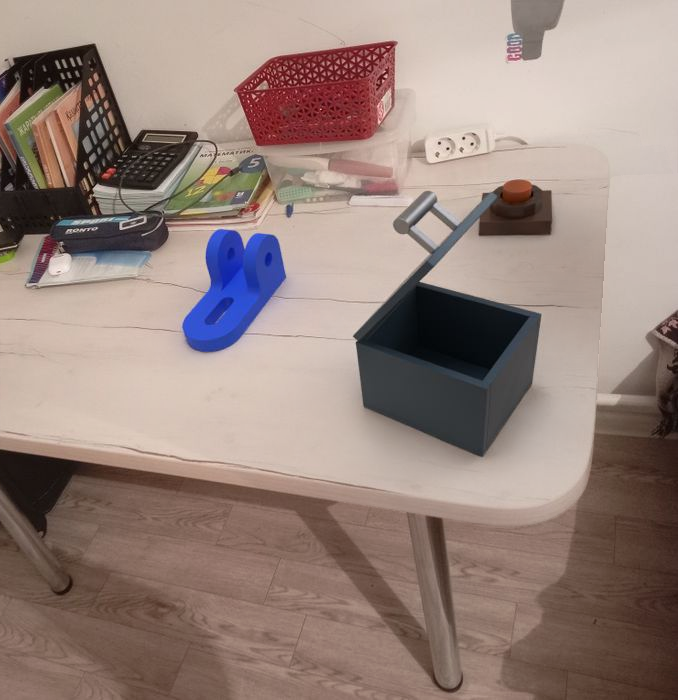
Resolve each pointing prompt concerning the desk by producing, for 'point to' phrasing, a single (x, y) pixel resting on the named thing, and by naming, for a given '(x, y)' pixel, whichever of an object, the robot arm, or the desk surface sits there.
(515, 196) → the button
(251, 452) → the desk surface
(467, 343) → the open box
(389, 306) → the box lid
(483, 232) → the control block
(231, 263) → the bracket
